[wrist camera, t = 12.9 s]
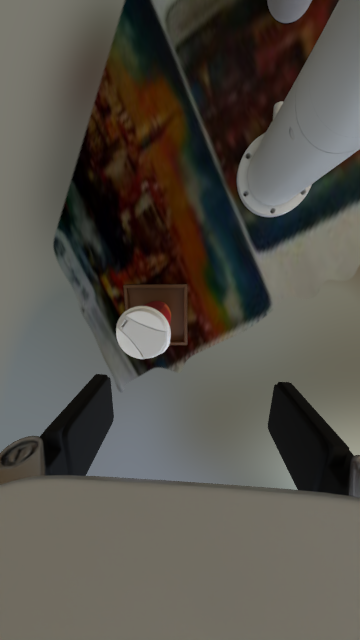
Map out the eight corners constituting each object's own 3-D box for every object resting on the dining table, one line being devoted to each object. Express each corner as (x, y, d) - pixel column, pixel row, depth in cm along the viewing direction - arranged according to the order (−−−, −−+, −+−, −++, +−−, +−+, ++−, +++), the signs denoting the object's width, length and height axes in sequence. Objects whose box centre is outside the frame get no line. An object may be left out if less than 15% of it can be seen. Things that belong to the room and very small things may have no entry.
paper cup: (131, 317, 39) (101, 340, 25) (153, 287, 37) (133, 295, 24) (162, 339, 40) (148, 373, 26) (184, 311, 38) (182, 332, 25)
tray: (126, 284, 38) (123, 285, 36) (187, 283, 37) (187, 284, 35) (131, 341, 41) (128, 344, 39) (187, 341, 40) (187, 345, 38)
